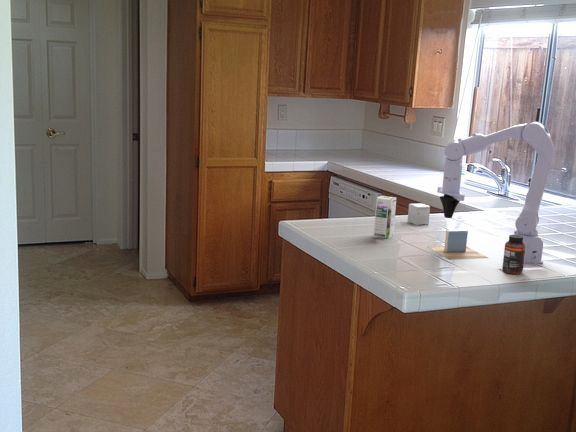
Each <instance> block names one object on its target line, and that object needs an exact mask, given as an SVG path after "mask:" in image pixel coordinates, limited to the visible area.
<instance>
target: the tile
mask: <svg viewBox="0 0 576 432" xmlns="http://www.w3.org/2000/svg"><path fill="white" fill-rule="evenodd" d="M468 233H469V230H467V229H466V228H465V229H446V230H445V236H444V237H445V239H444V245H443V246H444V251H446V252H456V251H466V246H467V242H468Z"/></svg>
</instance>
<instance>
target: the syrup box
mask: <svg viewBox="0 0 576 432" xmlns="http://www.w3.org/2000/svg"><path fill="white" fill-rule="evenodd" d="M396 206H397V197H394V196H386V195H379V196H377V197H376V200H375V213H374V227H373V228H374V229H373V238H375V239H376V238H384V239H390V238H393V237H394V234H395V233H394V232H395V219H396V209H397V207H396Z"/></svg>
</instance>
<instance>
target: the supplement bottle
mask: <svg viewBox="0 0 576 432" xmlns="http://www.w3.org/2000/svg"><path fill="white" fill-rule="evenodd" d="M522 241H523V236H520V235H514V234H509V236H508V241H506V242H505V244H504V249H503V257H502V258H503V259H502V267H501V269H502V271H503V272H504V273H506V274H510V275H521V274H522V273H523V272H524V271H523V270H524V264H525V263H524V256H525V244H524V243H523V242H522Z"/></svg>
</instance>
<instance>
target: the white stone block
mask: <svg viewBox="0 0 576 432" xmlns="http://www.w3.org/2000/svg"><path fill="white" fill-rule="evenodd" d="M430 209H431V206H430V205H428V204H425V203H409V204H408V213H407V220H406V221H407V222H408V223H409V224H412V223H413V224H412V225H415V226H422V224H425V225H429V223H430V213H431V212H430ZM419 224H421V225H419Z"/></svg>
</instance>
